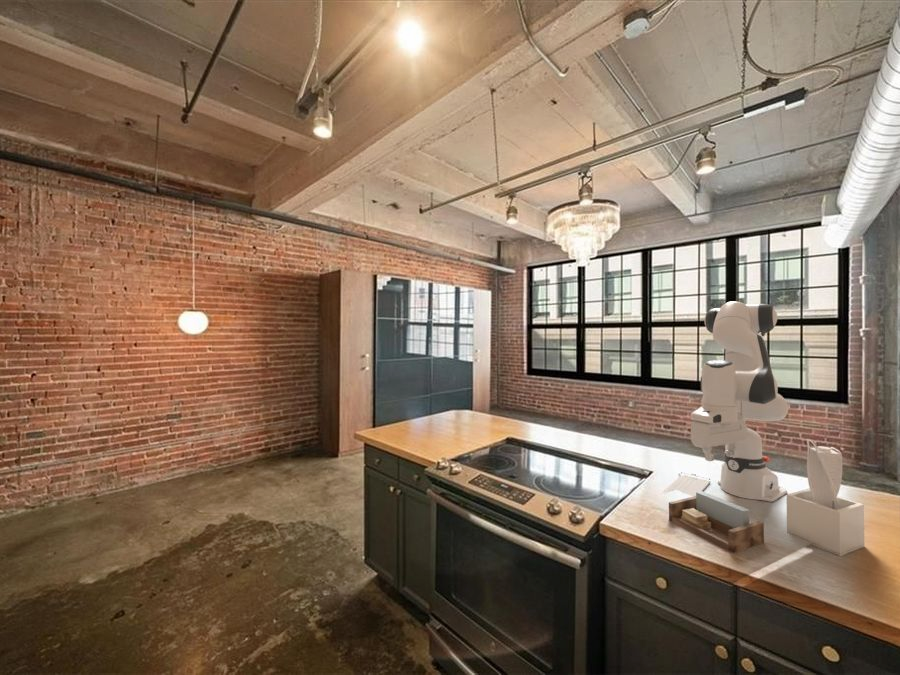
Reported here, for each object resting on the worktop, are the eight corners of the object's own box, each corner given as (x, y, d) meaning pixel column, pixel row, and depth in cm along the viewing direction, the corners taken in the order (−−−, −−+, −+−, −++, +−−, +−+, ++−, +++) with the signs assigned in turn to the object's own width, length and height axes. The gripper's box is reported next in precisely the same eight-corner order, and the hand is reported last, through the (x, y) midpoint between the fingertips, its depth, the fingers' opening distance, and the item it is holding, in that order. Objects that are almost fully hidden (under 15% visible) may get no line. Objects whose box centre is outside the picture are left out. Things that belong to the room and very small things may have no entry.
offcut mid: (690, 519, 118) (690, 513, 118) (711, 529, 112) (711, 522, 112) (680, 522, 117) (680, 516, 117) (701, 532, 111) (701, 526, 111)
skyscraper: (798, 533, 110) (797, 440, 110) (813, 527, 113) (812, 436, 113) (836, 548, 102) (836, 448, 102) (851, 541, 105) (850, 444, 105)
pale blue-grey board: (702, 521, 120) (701, 490, 120) (749, 543, 107) (749, 509, 107) (696, 522, 119) (696, 492, 119) (744, 545, 106) (743, 511, 106)
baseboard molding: (650, 500, 137) (687, 511, 128) (650, 492, 137) (687, 502, 128) (677, 476, 158) (710, 484, 149) (677, 470, 158) (710, 477, 149)
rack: (697, 516, 123) (697, 495, 123) (764, 547, 105) (763, 522, 105) (669, 524, 119) (668, 502, 119) (733, 557, 100) (732, 532, 100)
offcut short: (693, 514, 118) (693, 508, 118) (707, 521, 113) (707, 515, 113) (682, 516, 117) (682, 510, 117) (696, 524, 112) (696, 517, 112)
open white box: (810, 526, 115) (810, 488, 115) (864, 546, 104) (863, 504, 104) (787, 534, 111) (786, 494, 111) (840, 556, 100) (839, 512, 100)
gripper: (731, 408, 119) (732, 451, 119) (686, 414, 112) (687, 459, 112) (753, 412, 113) (753, 457, 113) (706, 418, 106) (707, 466, 106)
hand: (720, 458), depth 113 cm, fingers open, 8 cm apart
